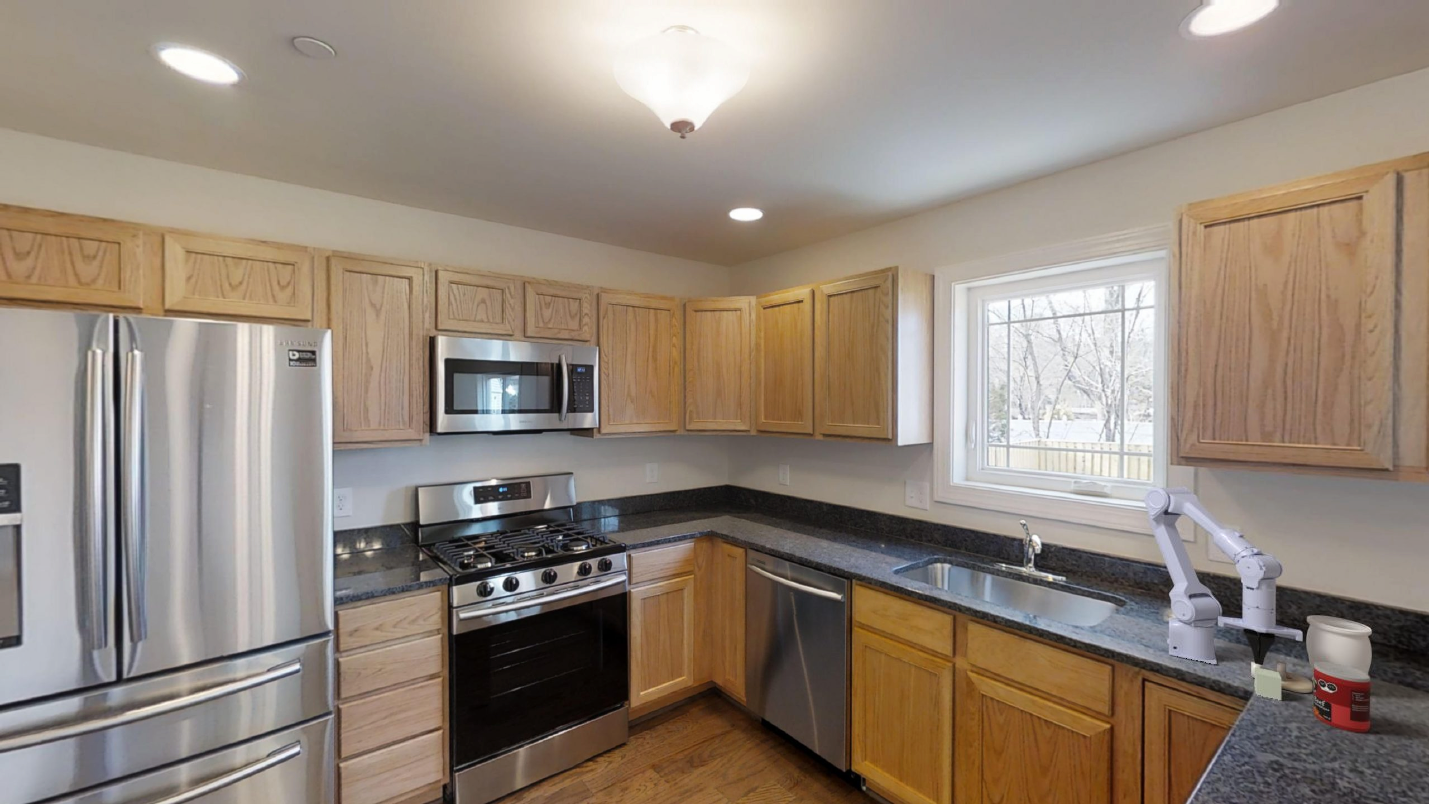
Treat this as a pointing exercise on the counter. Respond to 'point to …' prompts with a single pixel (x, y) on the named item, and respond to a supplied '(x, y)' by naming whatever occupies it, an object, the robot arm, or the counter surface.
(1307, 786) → the counter surface
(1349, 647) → the jar
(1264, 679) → the link block
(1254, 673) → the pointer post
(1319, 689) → the canned food
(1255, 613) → the robot arm
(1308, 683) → the disc
